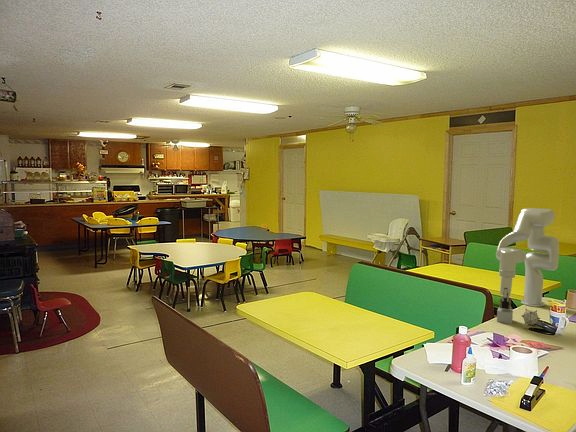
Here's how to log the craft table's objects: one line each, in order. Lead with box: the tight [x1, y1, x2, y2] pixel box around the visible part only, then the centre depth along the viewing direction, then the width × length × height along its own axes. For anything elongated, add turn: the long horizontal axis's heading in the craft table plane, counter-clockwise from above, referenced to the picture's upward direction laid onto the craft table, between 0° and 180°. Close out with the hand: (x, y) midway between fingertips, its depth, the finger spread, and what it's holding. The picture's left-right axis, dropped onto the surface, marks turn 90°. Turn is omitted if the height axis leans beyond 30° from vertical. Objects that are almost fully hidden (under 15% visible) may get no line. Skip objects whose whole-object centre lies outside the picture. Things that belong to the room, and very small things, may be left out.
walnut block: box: [499, 296, 512, 310], centre depth 225 cm, size 5×5×5 cm
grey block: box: [496, 306, 514, 325], centre depth 225 cm, size 7×7×6 cm
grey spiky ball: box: [521, 308, 541, 326], centre depth 219 cm, size 9×8×10 cm
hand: (505, 306), depth 225 cm, fingers closed on walnut block, 4 cm apart
